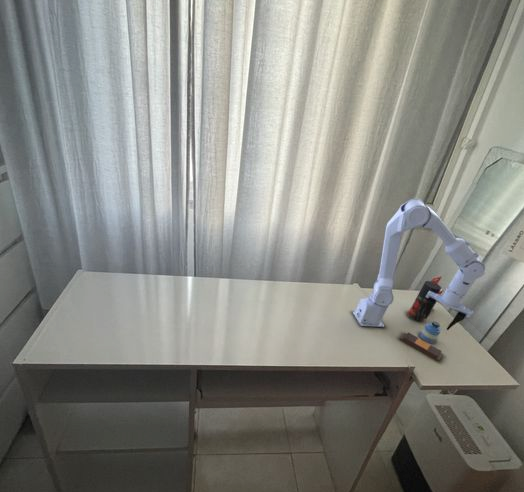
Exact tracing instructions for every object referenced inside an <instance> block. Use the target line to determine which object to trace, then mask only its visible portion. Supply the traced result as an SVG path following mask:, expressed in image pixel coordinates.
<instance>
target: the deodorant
mask: <svg viewBox="0 0 524 492" xmlns="http://www.w3.org/2000/svg"><path fill="white" fill-rule="evenodd" d="M441 289H442V286H441V285H439V283H438V284H436V283H434V282H431V280H426V281H424V283H423V285H422V286H421V288H420V291H419V292H418V294H417V296H416V297H415V299H414V301H413V303H412V305H411V307H410V308H409V310H408V312H407V317H408V318H410V319H411V320H412V321H415V322H423V320H424V319H425V315H426V310H427V300H428V299H429V298H426V295H427V293H428V292H429V291H431V292H433V293H436V294H438V293H439V292H440V290H441Z"/></svg>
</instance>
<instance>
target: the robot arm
mask: <svg viewBox="0 0 524 492" xmlns="http://www.w3.org/2000/svg"><path fill="white" fill-rule="evenodd" d="M419 227H422V228H423V229H431V230H432V231H433V232H434V233H435V235H436V236H437V237H438V238H439V239H440V240H441V241H442V242H443V243H444V244H445V248H444V252H445V253H446V254H447V255H448V256H449V257H450V258H451V260H452V261H453V262H454V263H455V264H456V266H457V267H459V268H458V270H457V271H456V273H455V274H454V276H453V278H452V279H451V281H450V283H449V285H448V286H447V287H446V289H445V291H444V293H443V294H441V295H439V294H436V293H433V292H431V291H429V292H428V293H427V295H426V298H429V299H428V300H427V310H426V315H425V317H424V319H425V320H427V319H428V318H429V316H430V315H431V312H432V310H433V309H434V307H435V306H434V305H436V304H437V303H439V304H441V305H443V306H444V307H446V308H448V309H450V310H454V311H455V312H457V313H456V315H455V316H454V318H453V319H452V320H451V322H450V323H449V324H448V326H447V327H446V329H445V330H447V331H449V330H450V329H452V327H454V326H455V325H456V324H458V323H460V322H462V321H463V320H465V318H468V319H470V317H471V316H472V315H473V313H474V310H471V309H469V308H467V307H466V306H465V305H463V304H461V303H462V302H463V300H464V299H465V297H466V296H467V294H468V293H469V291H470V289H472V286H473V285H474V284H475V281H477V279H480V278H481V277H483V276H484V275H485V273H486V272H485V270H486V266H485V264H484V262H483V261H482V260H481V258H480V257H479V255H480V254H478V253H477V252H475V251H474V250H473V249H472V247H471V246H470V245H471V243H470V242H469V241H468V239H466V240H465V239H464V238H460V237H455V235H454V234H453V232H452V231H451V230H450V229H449V228H448V226H447V225H446V224H445V222H444V221H443V220H442V219H441V218H440V217H439V215H438V214H437V213H436V212H435V211H434V210H433V209H432V208H431V207H429V206H428V205H426V204H425V202H424V201H423V199H419V198H411V199H409V200H407V201H406V202H404V203H402V204H401V205H400V206H399V208H398V210H397V211H396V212H395V214H394V215H392V217H391V218H390V219H389V221H388V222H387V224H386V227H385V232H384V237H383V238H384V239H383V245H382V253H381V258H380V265H379V271H378V275H377V279H376V281H375V282H374V283H373V292H372V293H370V294H369V296H368V297H365V298H361V299H359V302H358V303H357V306H356V308H355V309H354V311H353V312H352V314H353V316H354V317H355V319H356V321H357V322H358V323H359V325H360V327H373V328H377V327H378V328H384V327H385V324H384V323H383V321H382V320H383V318H384V316H385V314H386V312H387V310H388V308H389V307H390V305H391V304H392V303H393V302H394V299H395V298H394V292H393V287H394V286H393V285H394V276H395V271H396V265H397V260H398V255H399V249H400V242H401V237H402V234H404V233H406V232H407V231H409V230H412V229H416V228H419ZM435 303H436V304H435ZM432 308H433V309H432Z"/></svg>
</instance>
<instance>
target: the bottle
mask: <svg viewBox="0 0 524 492" xmlns="http://www.w3.org/2000/svg"><path fill="white" fill-rule="evenodd" d="M440 326H441V324H440V323H439V322H438V321H432V322H429V323H426V324H425V326H424V328H423V329H422V331H421V333H420V334H419V337H420V339H421V340H423V341H425V342H427V343H428V344H433V343H434V342H435V341H436V340H437V338H438V336H439V335H440V333H441V332H442V329H441V328H440Z"/></svg>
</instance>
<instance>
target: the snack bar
mask: <svg viewBox="0 0 524 492" xmlns="http://www.w3.org/2000/svg"><path fill="white" fill-rule="evenodd" d="M399 340H400V341H402V342H403V343H405V344H407V345H409V346H411V347H412V348H414V349H416V350H417V351H419V352H421V353H422V354H424V355H426V356H428V357H429V358H431V359H433V360H435V361H437V362H440V360H441V358H442V356H443V355H444V353H442V350H441V349H439V348H437V347H435V346H433V345H432V344H431V343H429V342H426V341H424V340H423V339H422V338H419V337H417V336H415V335H414V334H412V333H411V332H407V333H406V332H404V333H403V334H402V336H400V339H399Z"/></svg>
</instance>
